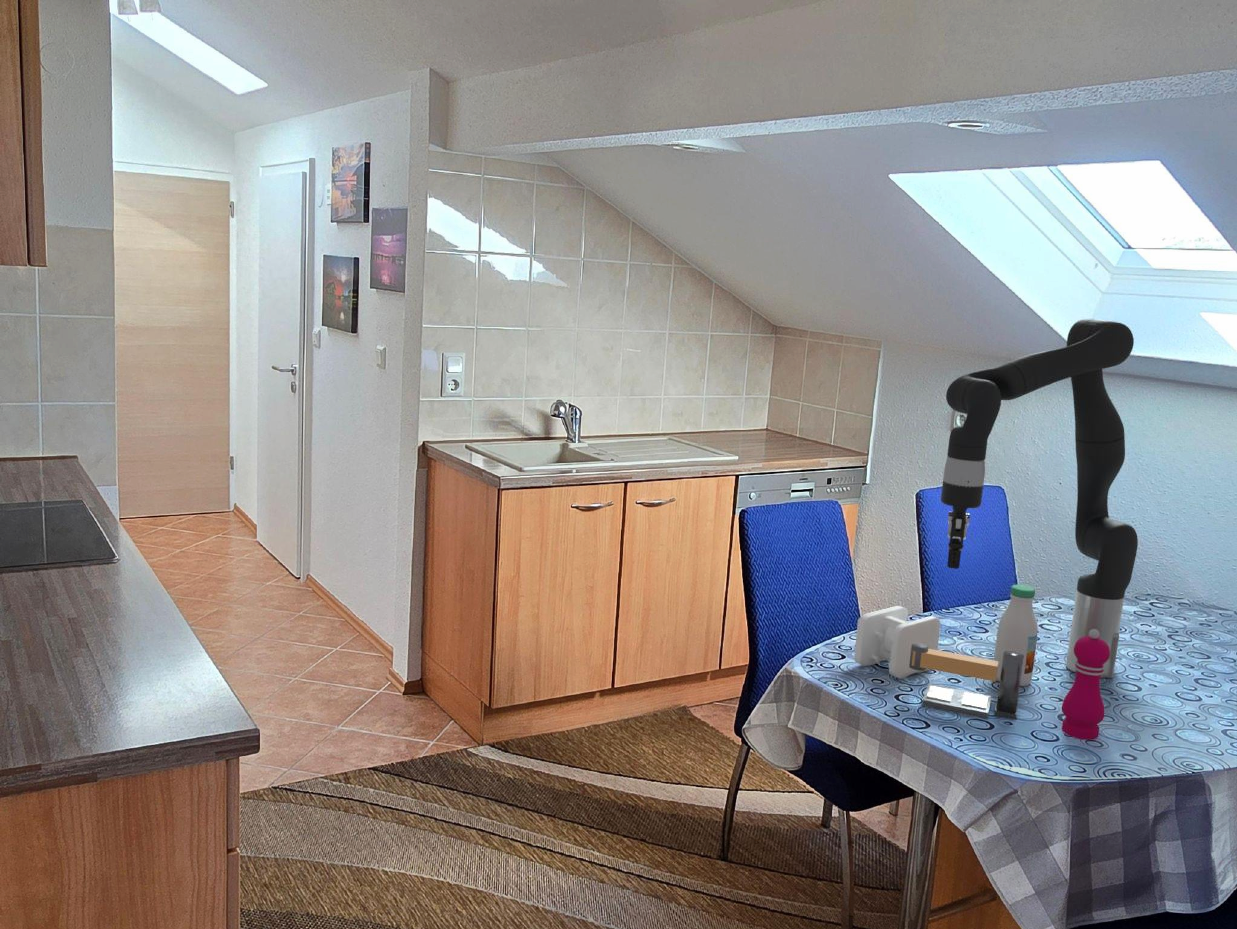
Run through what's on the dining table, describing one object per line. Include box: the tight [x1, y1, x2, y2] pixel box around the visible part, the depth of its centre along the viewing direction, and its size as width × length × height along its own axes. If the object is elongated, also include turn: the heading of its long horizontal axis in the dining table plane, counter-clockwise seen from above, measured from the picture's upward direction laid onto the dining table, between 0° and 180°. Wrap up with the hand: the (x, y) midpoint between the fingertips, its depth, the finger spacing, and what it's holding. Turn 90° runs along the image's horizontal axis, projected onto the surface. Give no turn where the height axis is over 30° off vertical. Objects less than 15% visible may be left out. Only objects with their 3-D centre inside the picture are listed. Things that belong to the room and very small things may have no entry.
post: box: [993, 651, 1024, 721], centre depth 199 cm, size 4×4×12 cm
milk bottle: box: [993, 584, 1039, 687], centre depth 215 cm, size 8×8×20 cm
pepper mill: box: [1061, 629, 1110, 741], centre depth 191 cm, size 7×7×20 cm
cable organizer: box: [853, 605, 941, 680], centre depth 219 cm, size 15×11×12 cm
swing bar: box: [909, 643, 999, 682], centre depth 202 cm, size 16×3×4 cm, turn 67°
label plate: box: [921, 683, 992, 720], centre depth 203 cm, size 12×9×2 cm
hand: (953, 562), depth 206 cm, fingers open, 7 cm apart
